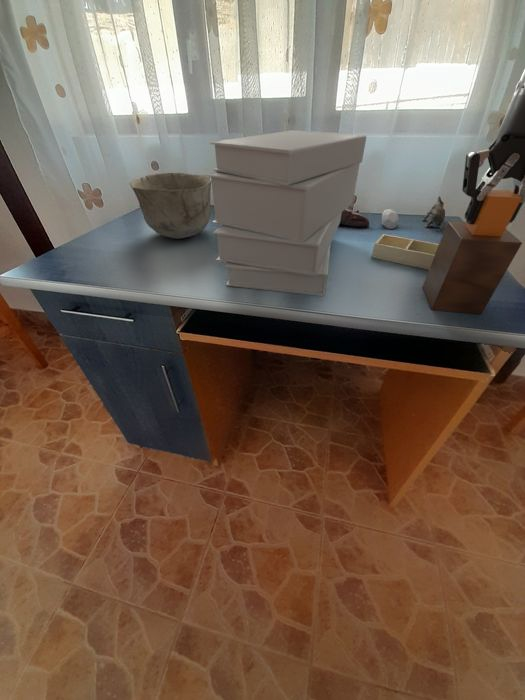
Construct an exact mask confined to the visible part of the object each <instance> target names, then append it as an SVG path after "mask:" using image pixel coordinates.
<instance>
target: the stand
mask: <svg viewBox="0 0 525 700" xmlns="http://www.w3.org/2000/svg"><path fill="white" fill-rule="evenodd" d="M465 224H466V221H449V220H448V221H447V223H446V226H445V227H444V229H443V230H444V231H443V232H442V236H441V238H440V241H439V243H438V244H439V246H438V248H437V251H436V254H435V256H434V259H433V261H432V264H431V266H430V269H429V270H428V272H427V274H426V277H425V279H424V282H423V284H422V290H423V293H424V296H425V298H426V300H427V303H428V306H429V308H430V310H431V311H437V312H438V311H439V312H447V313H460V314H471V315H480V316H482V314H483V312H484V311H485V308H486V307H487V306H488V304H489V302H490V300H491V298H492V297H493V295H494V294H495V292H496V290H497V288H498V286H499V284H500V283H501V281H502V280H503V278H504V276H505V274H506V272H507V271H508V269H509V267H510V265H512V262H513V259H514V258H515V257H516V255H517V253H518V252H519V250H520V248H521V246H522V245H523V242H522V241H521V240H520V239H519V238H517V236H515V235H514V234H513V233H512V232H511V231H509V230H508V229H507V228H506V229H505V231H504V233H503V235H502V236H501V237H500V236H483V235H472V234H471V232H470V231H469V230H468V229H467V228H466V227H465Z"/></svg>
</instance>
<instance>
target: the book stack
mask: <svg viewBox="0 0 525 700" xmlns="http://www.w3.org/2000/svg"><path fill="white" fill-rule="evenodd" d="M366 141H367V135H366V134H359V133H341V132H326V131H325V132H324V131H313V130H296V129H290V130H282V131H275V132H268V133H262V134H261V133H260V134H255V135H247V136H240V137H232V138H227V139H226V138H225V139H220V140H219V139H218V140H213V141H210V143H209V144H210V145H214V151H215V160H216V162H215V163H216V167H215V168H212V171H214V172H211V173H208V174H206V175H207V176H206V177H210V178H211V181H212V182H211V189H212V199H213V208H214V214H215V215H214V217H215V219H214V220H212V221H211V222H212V224H216V225H220V226H219V228H217V229H216V230H214V231H213V232H212V235H216V237H217V247H218V257H217V258H216V259H215V261H217V262H224V265H223V268H224V269H225V268H226V269H227V275H228V276H227V277H228V280H227V281H226V283H225V284H224V285H225V286H227V287H234V288H235V287H236V288H244V289H245V288H246V289H253V290H254V289H255V290H265V291H272V292H283V293H290V294H299V295H300V294H302V295H309V296H311V295H312V296H317V297H318V296H320V297H324V296H326V290H327V282H328V274H329V267H330V256H331V255H330V254H331V246H332V240H333V238H334V236H335V234H336V232H337V230H338V228H339V226H340V224H339V223H340V220H341V214H342V211H344V210H345V209H346V208H347V207H348V208H350V206H351V205H353V203H354V198H355V193H356V186H357V182H358V176H359V175H358V174H359V170H360V165H361V163H362V162H363V158H364V154H365V153H364V152H365V148H366Z"/></svg>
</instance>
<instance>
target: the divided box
mask: <svg viewBox="0 0 525 700" xmlns="http://www.w3.org/2000/svg"><path fill="white" fill-rule="evenodd" d="M438 246H439V243H435V242H429V241H425V240H418V239H413V238H407V237H402V236H396V235H391V234H386V233H383V234H382V235H381V236H380V237H379V238H378V239H377V240H376V242H374V245H373V249H372V253H371V258H374V259H378V260H382V261H387V262H391V263H396V264H400V265H405V266H410V267H414V268H419V269H423V270H427V271H429V269H430V266H431V264H432V261H433V259H434V256H435V254H436V251H437V248H438Z"/></svg>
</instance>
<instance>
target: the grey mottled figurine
mask: <svg viewBox="0 0 525 700" xmlns="http://www.w3.org/2000/svg"><path fill="white" fill-rule="evenodd" d="M444 204H445V203H444V201H443V200H442V198H441V196H438V197H437V202H436V203H434V204H433V206H432V207H431V208H430V210H429V211H428V212H427V213H426V214H425V216H424V217H423V218H422V219H421V222H425V221H426V220H427V219H428V218H429V216H430V215H431V216H430V217H431V218H430V219H429V220H428V221H427V223H426V224H425V225H424V228H429V227H430V225H432V224H433V223H434V222H435V223H437V224H438V225H439V229H441V230H444V229H445V217H446V210H445V208H444Z"/></svg>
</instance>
